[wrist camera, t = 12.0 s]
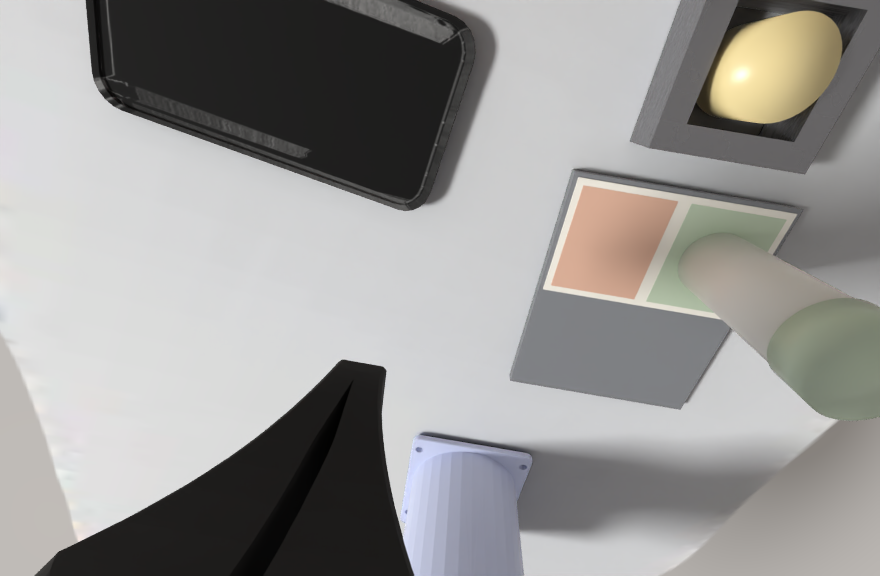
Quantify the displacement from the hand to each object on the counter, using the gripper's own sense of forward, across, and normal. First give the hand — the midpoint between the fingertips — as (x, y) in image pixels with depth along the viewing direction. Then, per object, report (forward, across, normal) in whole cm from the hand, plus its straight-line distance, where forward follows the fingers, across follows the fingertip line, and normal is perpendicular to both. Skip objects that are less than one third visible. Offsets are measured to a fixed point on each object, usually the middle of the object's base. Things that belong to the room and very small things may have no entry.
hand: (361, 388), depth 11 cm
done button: (+9, -12, -10) cm, 18 cm away
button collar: (+9, -12, -10) cm, 18 cm away
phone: (+10, +6, -8) cm, 14 cm away
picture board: (+9, -12, 0) cm, 15 cm away
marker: (+9, -14, -3) cm, 17 cm away
